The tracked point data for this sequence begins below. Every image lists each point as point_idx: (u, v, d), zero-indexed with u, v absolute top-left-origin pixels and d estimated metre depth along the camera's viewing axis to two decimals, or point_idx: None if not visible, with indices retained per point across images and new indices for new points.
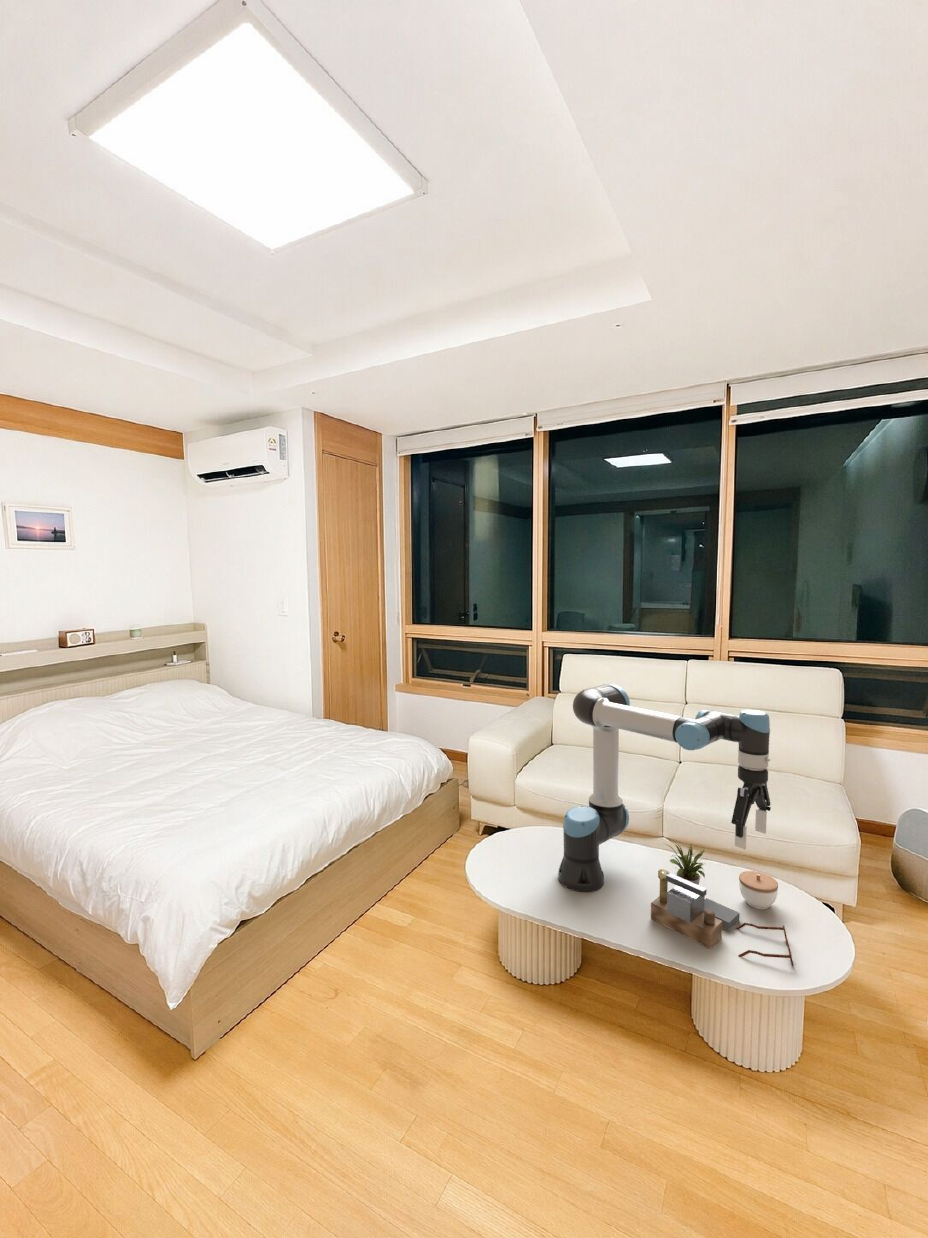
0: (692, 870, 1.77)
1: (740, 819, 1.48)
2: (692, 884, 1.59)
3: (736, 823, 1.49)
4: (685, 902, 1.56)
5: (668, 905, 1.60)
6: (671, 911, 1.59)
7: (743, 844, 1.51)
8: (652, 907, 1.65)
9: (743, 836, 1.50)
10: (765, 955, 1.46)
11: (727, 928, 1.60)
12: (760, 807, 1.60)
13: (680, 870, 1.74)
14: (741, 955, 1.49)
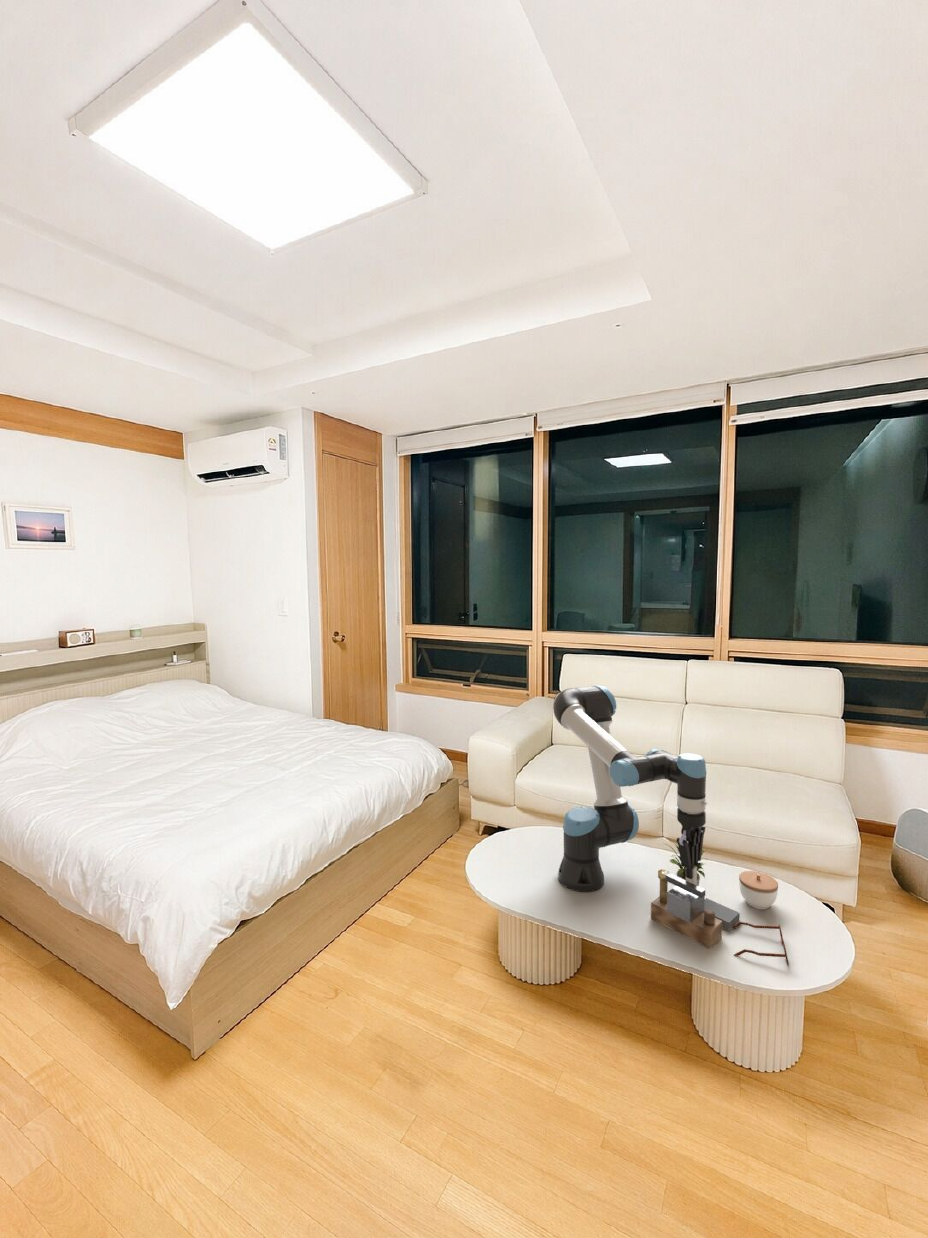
0: None
1: (687, 864, 1.56)
2: (691, 885, 1.58)
3: None
4: (685, 902, 1.56)
5: (668, 905, 1.60)
6: (671, 911, 1.59)
7: None
8: (652, 907, 1.65)
9: (693, 877, 1.59)
10: (761, 954, 1.47)
11: (727, 928, 1.60)
12: None
13: (680, 870, 1.74)
14: (737, 954, 1.49)
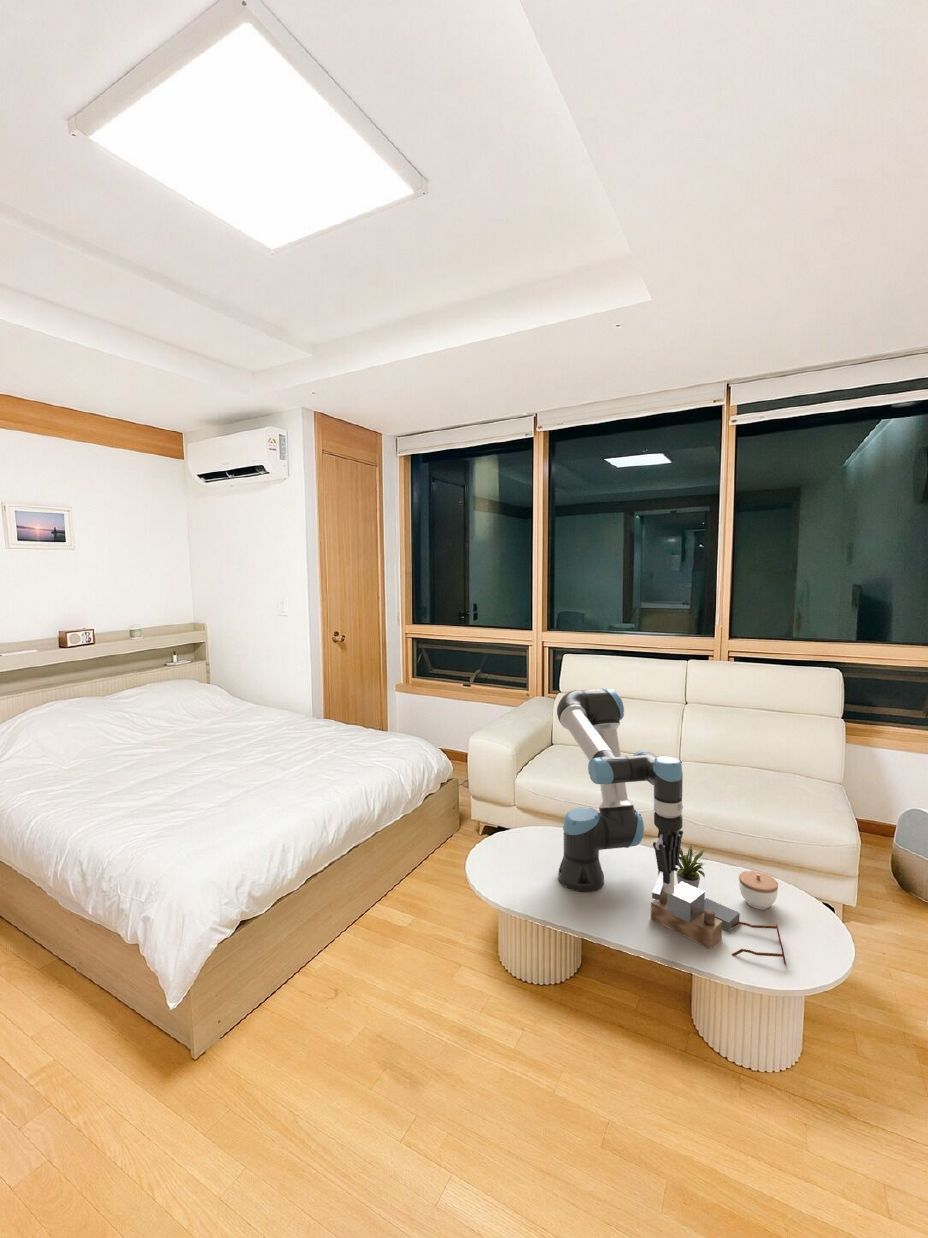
0: (692, 870, 1.77)
1: (664, 869, 1.54)
2: (659, 887, 1.57)
3: None
4: (685, 902, 1.56)
5: (668, 905, 1.60)
6: (671, 911, 1.59)
7: (670, 890, 1.57)
8: (652, 907, 1.65)
9: (670, 882, 1.56)
10: (758, 954, 1.47)
11: (727, 928, 1.60)
12: None
13: (680, 870, 1.74)
14: (734, 954, 1.49)
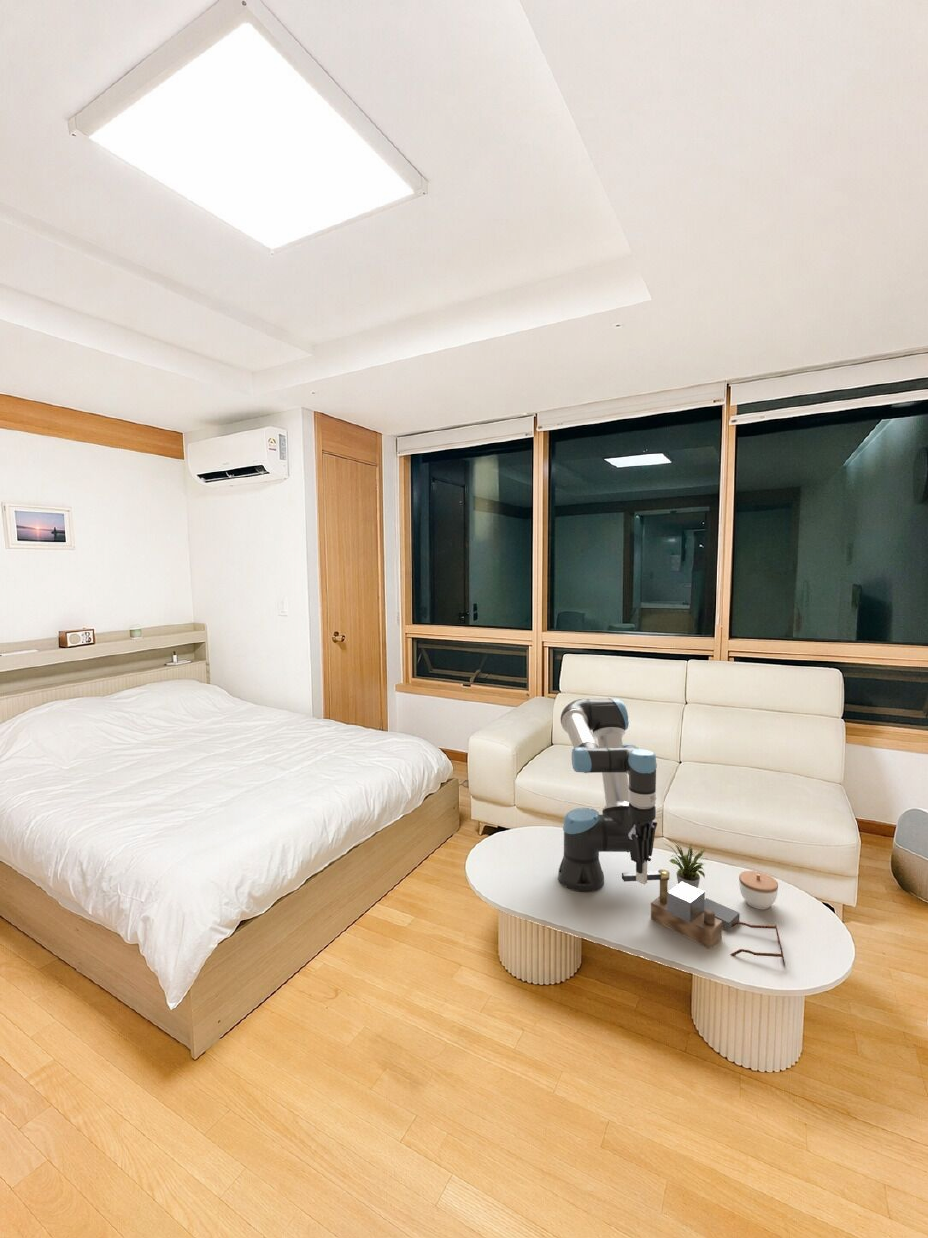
0: (692, 870, 1.77)
1: (637, 859, 1.58)
2: (635, 874, 1.64)
3: (635, 861, 1.59)
4: (685, 902, 1.56)
5: (668, 905, 1.60)
6: (671, 911, 1.59)
7: (643, 879, 1.61)
8: (652, 907, 1.65)
9: (642, 872, 1.61)
10: (757, 954, 1.47)
11: (727, 928, 1.60)
12: None
13: (680, 870, 1.74)
14: (733, 954, 1.49)
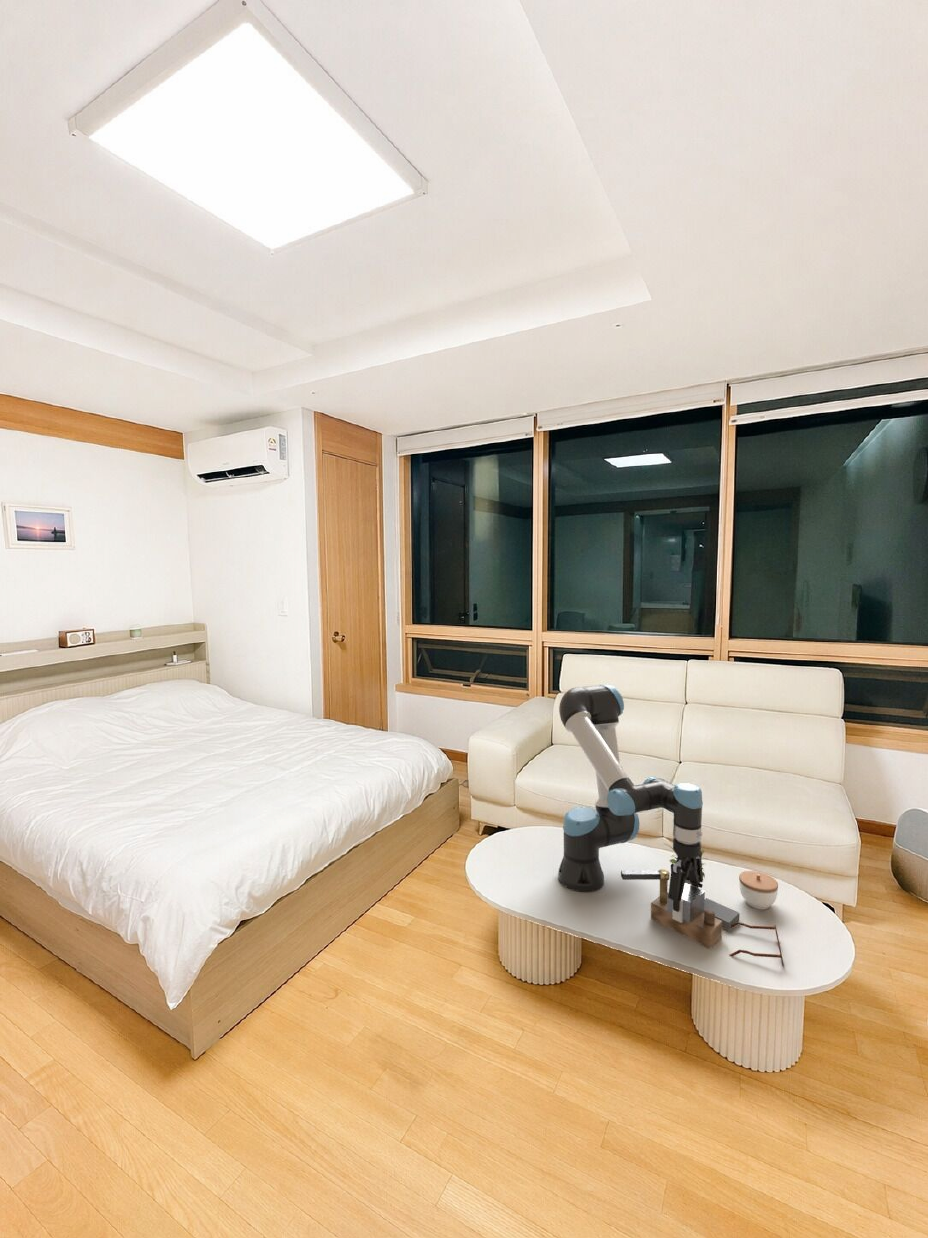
0: None
1: (675, 895, 1.54)
2: (634, 872, 1.65)
3: (672, 899, 1.55)
4: (685, 902, 1.56)
5: (668, 905, 1.60)
6: (671, 911, 1.59)
7: (680, 918, 1.57)
8: (652, 907, 1.65)
9: (680, 910, 1.56)
10: (756, 955, 1.47)
11: (727, 928, 1.60)
12: (693, 883, 1.63)
13: None
14: (732, 955, 1.49)
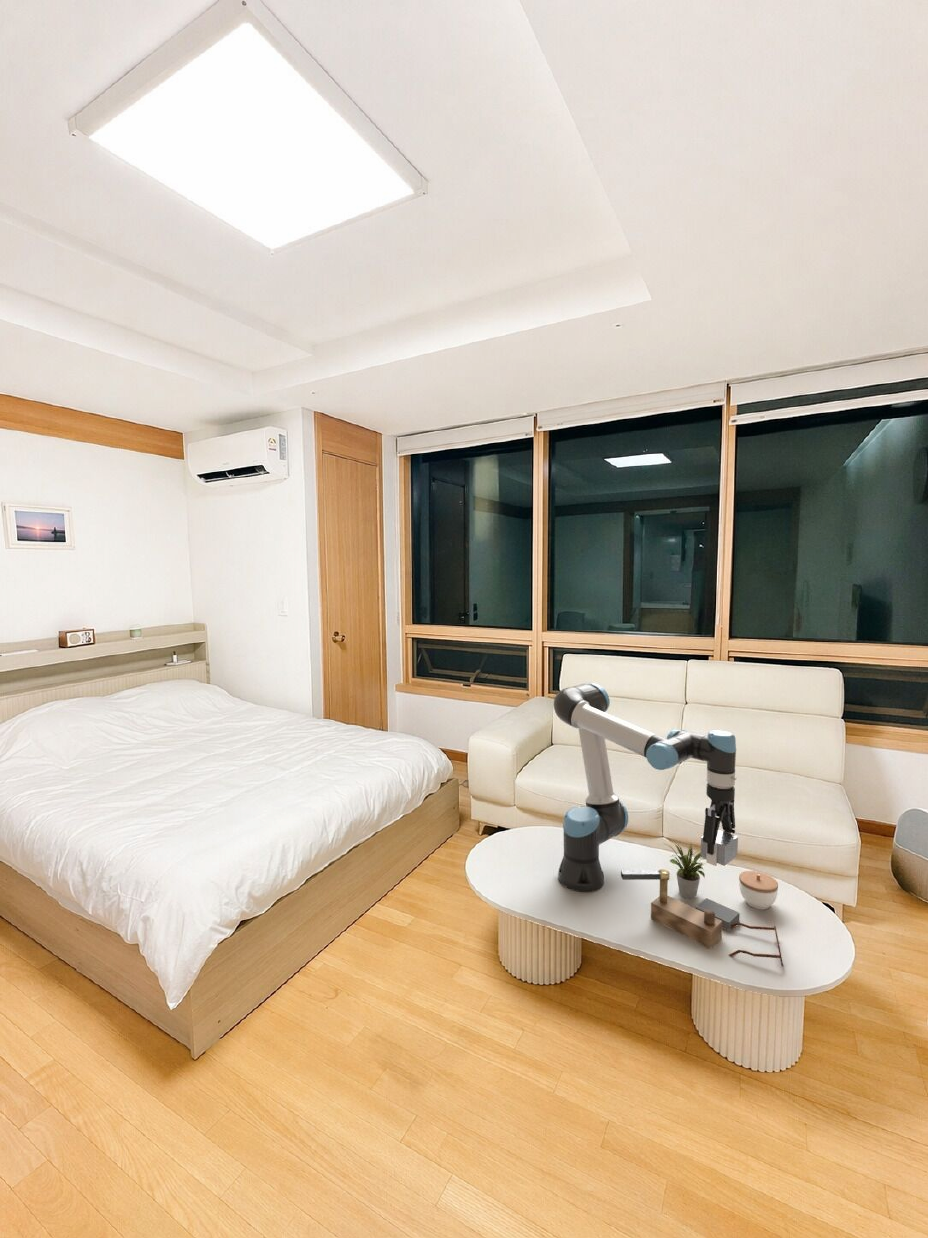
0: (692, 870, 1.77)
1: (710, 838, 1.57)
2: (634, 872, 1.65)
3: (707, 842, 1.58)
4: (719, 846, 1.59)
5: (702, 850, 1.63)
6: (705, 856, 1.63)
7: (714, 861, 1.60)
8: (652, 907, 1.65)
9: (714, 853, 1.60)
10: (755, 955, 1.47)
11: (727, 928, 1.60)
12: (725, 829, 1.67)
13: (680, 870, 1.74)
14: (731, 955, 1.49)
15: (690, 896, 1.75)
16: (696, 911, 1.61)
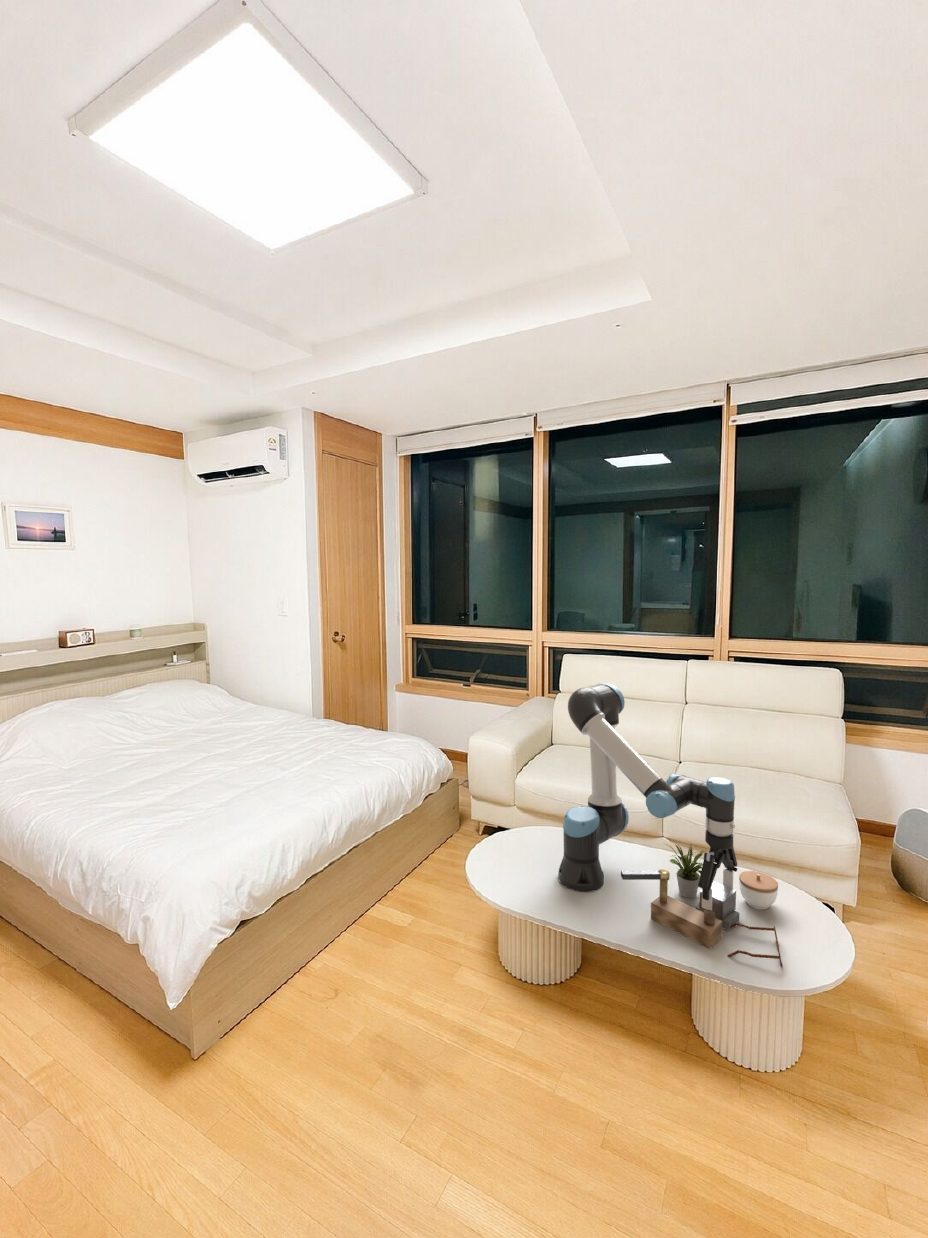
0: (692, 870, 1.77)
1: (706, 883, 1.57)
2: (634, 872, 1.65)
3: (702, 887, 1.58)
4: (717, 901, 1.61)
5: (700, 904, 1.65)
6: (703, 910, 1.64)
7: (709, 906, 1.59)
8: (652, 907, 1.65)
9: (709, 899, 1.59)
10: (754, 955, 1.46)
11: (727, 928, 1.60)
12: (727, 868, 1.69)
13: (680, 870, 1.74)
14: (730, 955, 1.49)
15: (690, 896, 1.75)
16: (696, 911, 1.61)
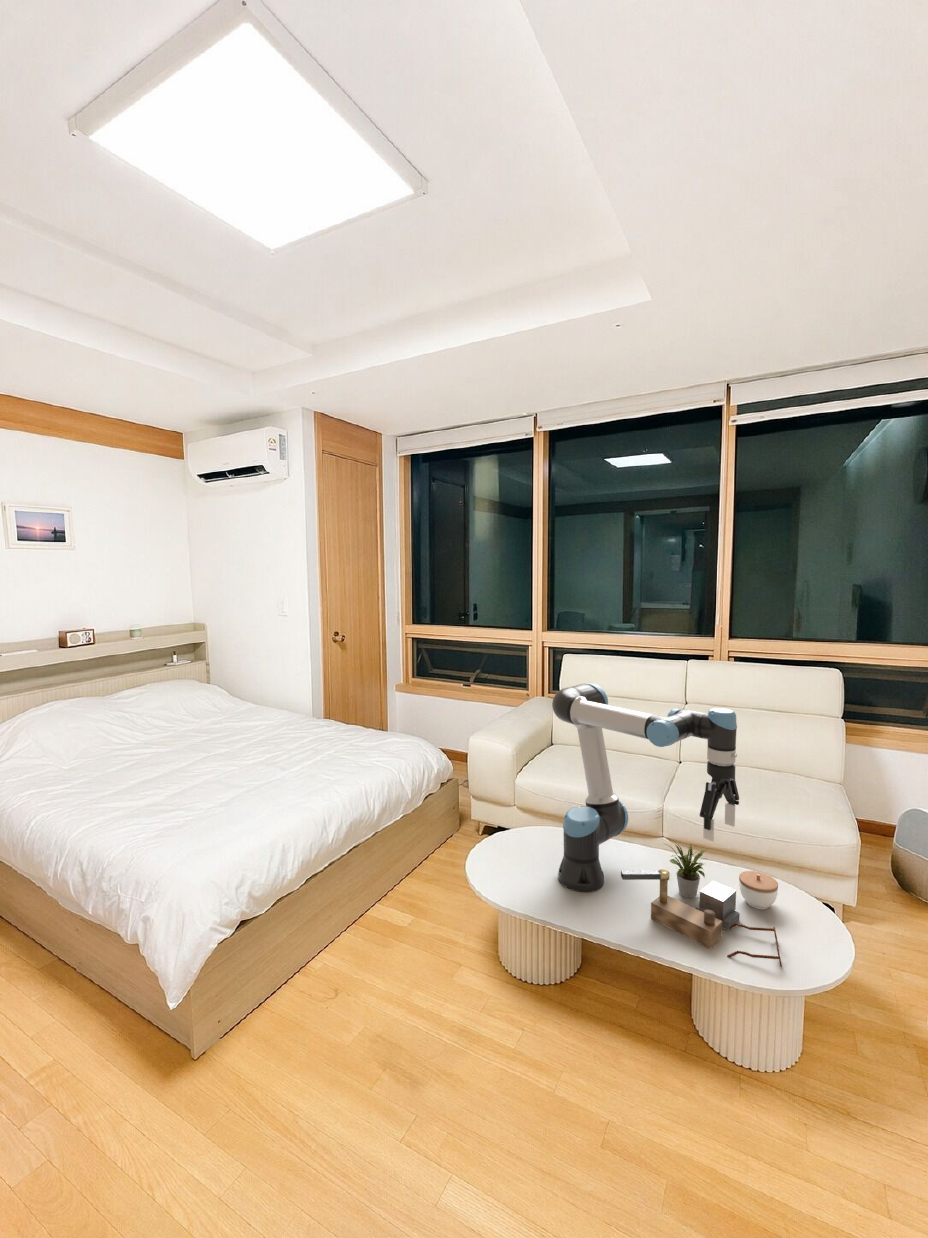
0: (692, 870, 1.77)
1: (707, 812, 1.56)
2: (634, 872, 1.65)
3: (704, 816, 1.56)
4: (717, 901, 1.61)
5: (700, 904, 1.65)
6: (703, 910, 1.64)
7: (711, 836, 1.58)
8: (652, 907, 1.65)
9: (711, 828, 1.58)
10: (754, 956, 1.46)
11: (727, 928, 1.60)
12: (729, 801, 1.67)
13: (680, 870, 1.74)
14: (730, 956, 1.49)
15: (690, 896, 1.75)
16: (696, 911, 1.61)
